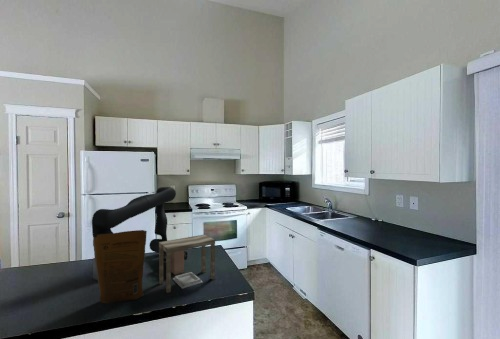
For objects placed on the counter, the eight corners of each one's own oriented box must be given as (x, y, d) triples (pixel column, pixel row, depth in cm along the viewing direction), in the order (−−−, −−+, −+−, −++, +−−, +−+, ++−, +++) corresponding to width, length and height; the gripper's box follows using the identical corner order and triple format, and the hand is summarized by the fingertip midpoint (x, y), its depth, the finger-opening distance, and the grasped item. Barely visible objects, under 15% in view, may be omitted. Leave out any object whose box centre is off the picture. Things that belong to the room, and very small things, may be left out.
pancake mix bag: (145, 300, 100) (145, 231, 100) (91, 307, 95) (92, 234, 95) (147, 292, 106) (147, 227, 106) (97, 298, 101) (97, 230, 101)
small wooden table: (159, 283, 115) (159, 242, 115) (203, 270, 129) (203, 234, 129) (167, 293, 106) (167, 248, 106) (215, 279, 119) (215, 239, 120)
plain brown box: (169, 270, 130) (169, 247, 130) (179, 268, 133) (179, 245, 133) (174, 274, 124) (174, 251, 124) (184, 272, 127) (184, 249, 127)
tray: (172, 279, 119) (172, 276, 119) (192, 274, 125) (192, 271, 125) (182, 288, 110) (182, 285, 110) (202, 282, 116) (202, 279, 116)
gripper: (154, 247, 136) (164, 255, 123) (179, 242, 144) (191, 249, 131) (154, 261, 136) (164, 270, 123) (179, 255, 144) (191, 264, 131)
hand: (178, 259), depth 127 cm, fingers open, 8 cm apart
